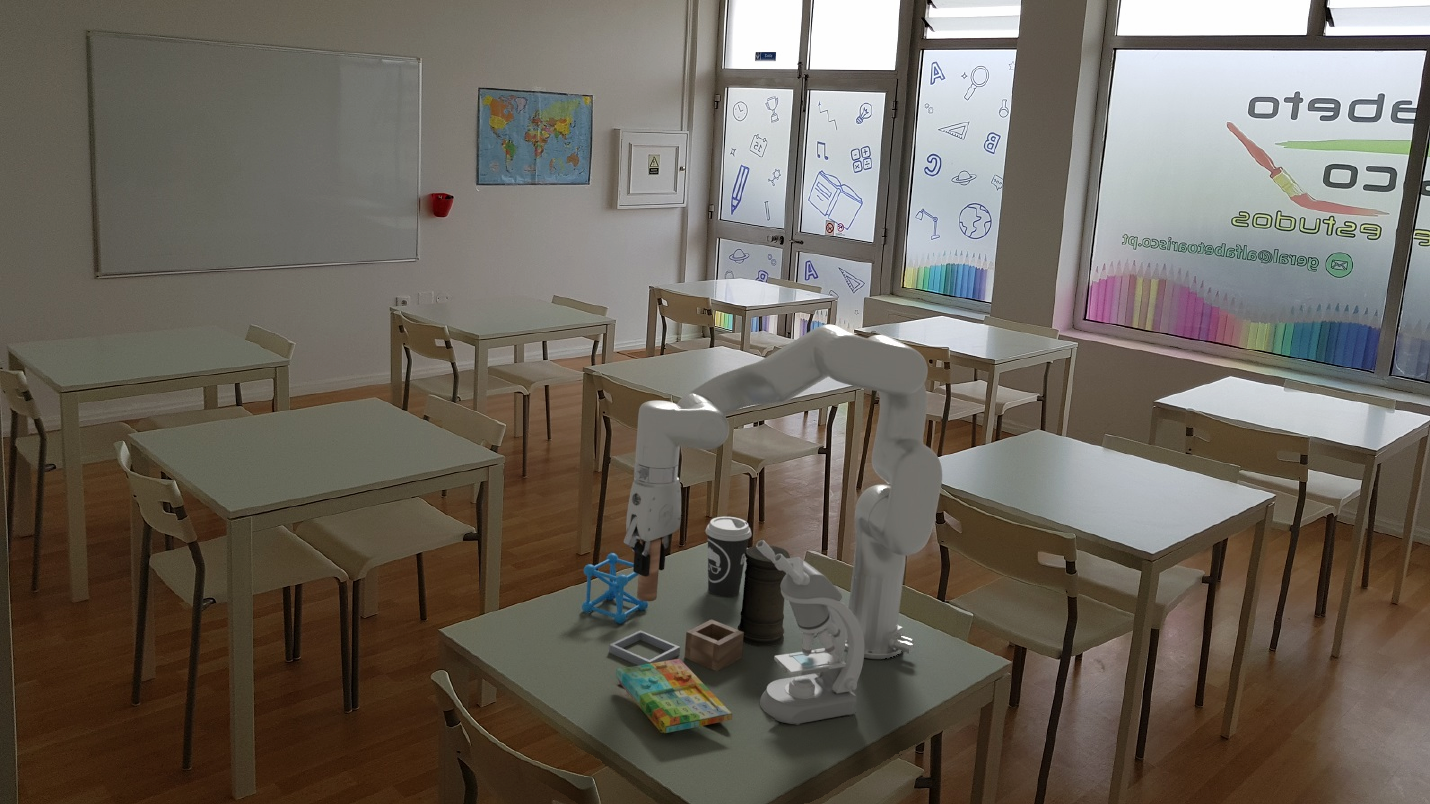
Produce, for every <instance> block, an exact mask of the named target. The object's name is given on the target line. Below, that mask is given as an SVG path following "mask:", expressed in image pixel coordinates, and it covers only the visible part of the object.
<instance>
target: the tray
mask: <svg viewBox="0 0 1430 804" xmlns="http://www.w3.org/2000/svg"><path fill="white" fill-rule="evenodd" d="M639 641H642V642H643V643H647V644H649V645H651V646H653V647H656V648H658V649H661V650H663V651H664V652H663V653H661V654H658V655H657V656H655V657H653V658H651V659H648V658H646V657H643V656H641V655H638V654H636V653H634V652H631V651H630V650H627V649H624V648H626V647H628V646H630V645H633V644H635V643H637V642H639ZM608 649H609V650H608V653H609V654H611V655H613V656H616V657H618V658H620V659H622V660H625V661H627V662H630V663H631V664H634V665H635V666H639V665H645V664H651V663H657V662H662V661H668V660H673V659H674V658H676V657H678V656H680V653H681V647H680V646H679V645H677V644H674V643H672V642H670V641H667V640H664V639H663V638H660V637H657V636H655V635H652V634H650V633H648V632H646V631H644V630H641V629H640V630H638V631H636V632H634V633H632V634H630V635H626V636H624V637H622V638H621V639H618V640H616V641H615V642H612V643H610V644H609V647H608Z"/></svg>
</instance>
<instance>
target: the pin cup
mask: <svg viewBox="0 0 1430 804" xmlns="http://www.w3.org/2000/svg"><path fill="white" fill-rule="evenodd" d="M743 636H744V632H742V631H739V630H738V628H734V627H732V626H730V625H727V624H724V623H723V622H722V623H721V622H720V621H716V620H714V619H709V620H708V621H705V622H703V623H701V624H699V625H698V626H694V627H693V628H692V629H689V630H687V631H686V634H685V647H684V658H685V659H688V660H689V661H692V662H694V663H696V664H699V665H701V666H703V667H705V668H708V669H711V670H713V671H715V672H719V671H720V670H722V669H724V668H726V667H728V666H730V665H731V664H734V663H735V662H737V661H738V660H741V659H742V656H743V647H744V646H743V645H744V642H743Z"/></svg>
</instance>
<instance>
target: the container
mask: <svg viewBox="0 0 1430 804" xmlns="http://www.w3.org/2000/svg"><path fill="white" fill-rule="evenodd" d="M768 545H769V544H768ZM769 546H770V547H771V549H772V550H773V552H774V553H775V555H777V554H782V555H783V556H784V557H785V558H786V559H787V558H791V555H790V553H789V551H787V549H784V548H782V547H779V546H775V545H769ZM745 563H746V566H745V571H744V582H743V595H742V603H741V604H742V605H741V611H740V622H739V624H738V626H737V630H739V631H742V632H744V636H743V644H746V645H748V646H753V647H758V648H759V647H760V648H767V647H768V648H770V647H775V646H778V645H780V644H782V643H783V642H784V639H785V635H784V634H785V629H784V626H783V625H784V619H785V615H784V611H785V610H784V609H785V598H784V597H783V596H782V593H781V588H780V585H781V582H782V580H783V578H784V577H785V575H786V574H787V573H785V571H783V570H778V569H777V568H776V567H775V564H774V563H773V562H772V561H771V560H770V559H768V558H767V557H765V556H764V555H763V554H762V553H761V552H760V551H759V550H758V549H757V548H756V545H752V546H750V547H747V550H746V552H745Z"/></svg>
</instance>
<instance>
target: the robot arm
mask: <svg viewBox="0 0 1430 804" xmlns="http://www.w3.org/2000/svg"><path fill="white" fill-rule="evenodd" d="M928 369H929V367H928V364H927V361H926V358H925V357H924V356H923V355H922V354H921V353H920V352H919V350H916V349H915V348H913V347H911V346H910V345H907V344H906V343H905V344H904V343H903V342H901V341H899V340H897V339H895V338H893V337H891V336H888V335H885V334H884V335H883V334H874V335H871V336H869V337H868V338H866V337H864V336H860V335H857V334H854V333H852V332H850V331H849V330H847V329H845V328H843V327H841V326H838V325H835V324H831V323H829V324H823V325H820V326H817V327H815V328H814V329H812V330H809V331H808V332H806V333H805V334H804V335H802V336H800V337H798V338H797V339H795V340H793V341H791V342H790V343H788V344H787V345H785V346H783V347H781V348H780V349H778V350H776V351H775V352H773V353H772V354H770V355H768V356H766V357H765V358H763V359H761V360H759V361H756V362H754V363H750V364H747V365H744V366H742V367H739V368H735V369H732V370H729V371H727V372H724V373H721V374H719V375H716V376H714V377H712V378H711V379H709V380H707V381H705V382H704V383H702V384H700V385H699V386H697V387H695V388H694V389H692V390H690V391H689V392H688V393H686V394H684V395H683V396H682V397H681V398H680V399H679V401H677V403H675V402H672V401H667V400H659V399H658V400H649V401H645V402H644V403H641V405H640V407H639V408H638V409H639V410H638V417H637V430H636V431H637V432H636V433H637V434H636V445H635V457H634V458H635V460H634V461H635V462H634V471H633V472H634V473H633V479H634V480H633V481H632V483H631V489H630V493H629V497H628V499H629V500H628V504H627V512H626V521H625V523H626V525H625V526H626V529H625V530H626V534H625V536H624V539H623V544H625V545H627V546H629V547H630V548H631V550H632V552H633V553H634V555H633V563H634V567H632V568H633V572H635V573H637V574H640V575H642V576H645V577H647V576H649V569H650V555H649V554H648V552H649V546H650V541H652V540H655V539H658V538H660V539H661V547H660V560H659V571H664V570H665V564H666V553H667V552H666V551H667V550H666V549H667V548H668V547H669V545H670V544H669V541H670V539H671V537H672V535H673V533H676V532H677V531H679V529H680V527H681V519H682V516H681V515H682V490H681V482H680V478H679V476H678V474H679V459H680V451H681V450H680V449H681V447H684V448H685V447H686V448H691V449H696V450H702V451H703V450H704V451H706V450H714V449H717V448H719V447H720V446H722V445H723V444H724V443H725V442H726V440H727V439H728V437H729V434H730V423H729V421H728V419H727V417H726V416H728V415H729V414H732V413H733V412H735V411H738V410H739V409H740V410H741V409H743V408H747V407H751V406H759V405H761V406H762V405H763V406H764V405H765V406H766V405H767V406H770V405H772V406H773V405H781V404H784V403H787V402H788V401H791V400H792V399H794V398H795V397H797V396H798V395H800V394H801V393H803V392H804V391H805V392H806V391H807V390H808V389H810V388H812V387H813V386H815V385H816V384H818V383H820V382H822V381H823V380H825V379H827V378H828V377H829V378H830V379H832V380H834V381H836V382H839V383H842V384H844V385H848V386H851V387H855V388H861V389H866V390H870V391H875V392H878V396H879V411H878V413H879V414H878V419H877V425H876V432H875V437H874V442H873V447H872V453H871V466H872V467H871V468H872V469H873V471H874V472H875V474H876V475H877V476H878V477H879V478H880V479H882V480H883V481H885V482H886V484H876V485H875V484H874V485H872V486H870V487H868V488H866V489H865V490H864V491H863V492H862V493H861V494H860V496H859V497H858V499H857V501H856V505H855V509H854V510H855V512H854V526H855V527H854V528H855V545H854V557H853V558H854V559H853V565H852V567H853V568H852V576H851V583H850V593H849V602H848V608H849V609H850V610H851V611H852V613H853V614H854V616H855V617H856V619H857V621H858V623H859V625H860V627H861V630H862V633H863V638H864V658H865V659H871V660H884V659H885V658H887V659H891V658H890V657H892V658H894V657H893V656H895V655H897V654H899V655H900V654H902V652H903V653H906V654H909V655H911V654H912V653H913V651H914V649H915V645H914V642H915V640H914V639H913V638H911V637H907V636H904V635H903V633H902V632H903V626H901V625H899V615H900V609H901V607H900V606H901V599H902V592H903V582H904V574H905V568H906V556H907V557H908V556H912V555H914V554H917V553H918V552H920V551H921V550H922V549H923V548H924V547H925V546H926V545H927V544H928V542H929V540H930V537H931V534H932V533H933V532H932V531H933V528H934V525H935V519H936V516H937V515H936V514H937V510H938V504H939V499H940V494H941V489H942V484H943V469H942V465H941V464H942V463H941V461H940V459H939V456H938V455H937V454H936V452H935V451H934V450H933V449H932V448H930V447H929V446H927V445H926V444H925V443H924V433H925V427H926V420H927V411H928V395H927V394H928V393H927V389H926V384H925V383H926V380H927V378H928V373H929V370H928ZM641 540H642V541H644V542H643V545H642V544H641ZM848 650H849V637H848V633H847V630H846V644H845V650H844V652H847V653H848ZM901 651H902V652H901ZM897 656H898V655H897ZM895 657H896V656H895ZM885 660H886V659H885Z"/></svg>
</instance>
